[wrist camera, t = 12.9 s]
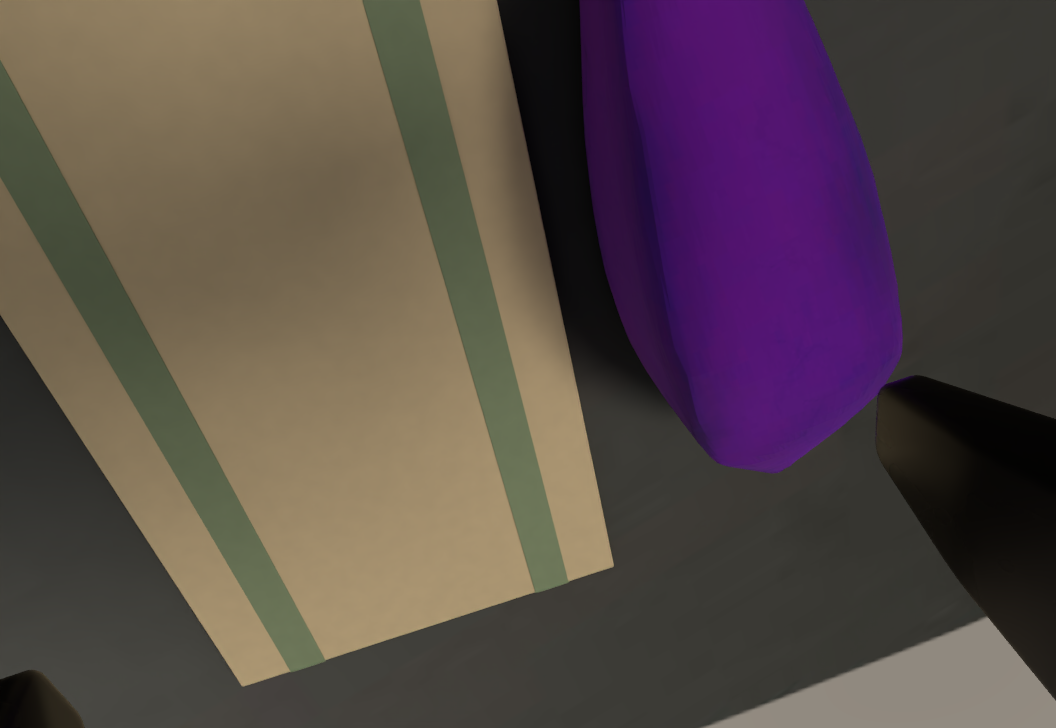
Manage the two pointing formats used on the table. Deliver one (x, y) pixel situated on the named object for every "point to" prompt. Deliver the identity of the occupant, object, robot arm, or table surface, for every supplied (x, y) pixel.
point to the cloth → (298, 307)
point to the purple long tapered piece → (737, 220)
